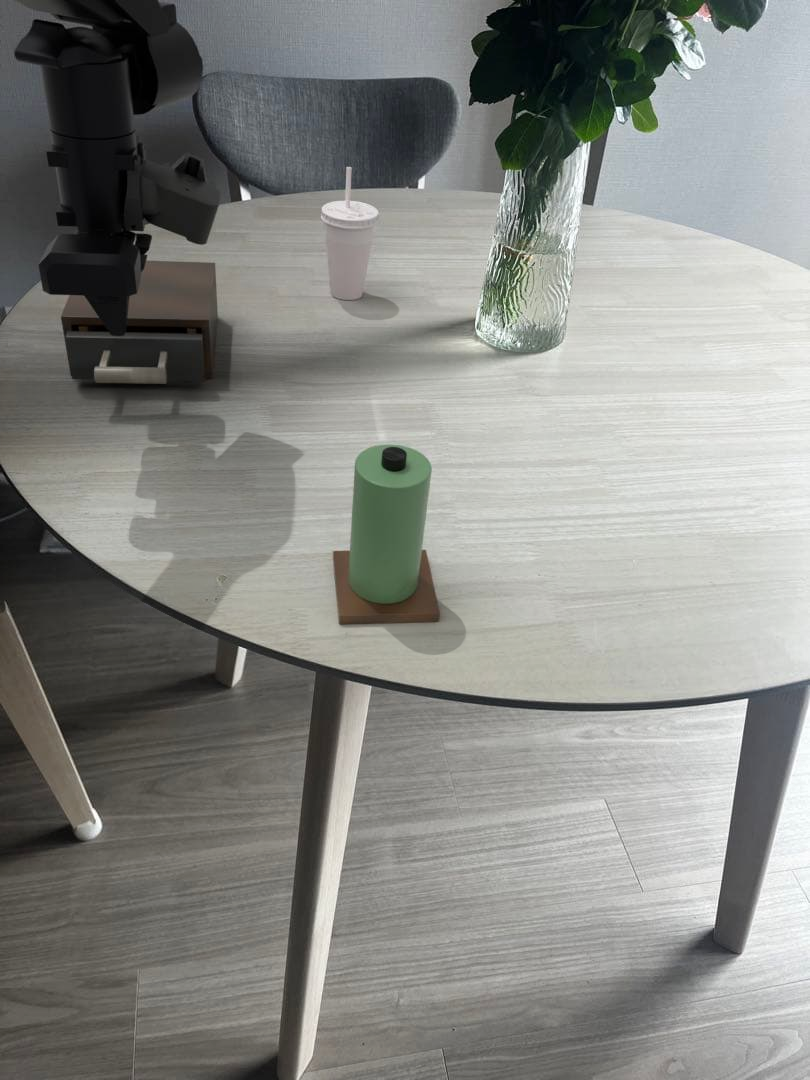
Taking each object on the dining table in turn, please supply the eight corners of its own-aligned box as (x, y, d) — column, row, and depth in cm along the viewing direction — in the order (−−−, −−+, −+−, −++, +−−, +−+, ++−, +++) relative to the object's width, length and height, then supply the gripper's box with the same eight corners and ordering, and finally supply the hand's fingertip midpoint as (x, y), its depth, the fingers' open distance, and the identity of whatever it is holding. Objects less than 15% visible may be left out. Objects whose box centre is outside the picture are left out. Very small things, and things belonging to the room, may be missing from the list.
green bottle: (422, 603, 63) (438, 475, 56) (350, 605, 62) (358, 475, 55) (412, 557, 67) (427, 432, 60) (345, 558, 66) (352, 432, 59)
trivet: (338, 624, 62) (339, 615, 61) (332, 558, 67) (333, 550, 66) (438, 621, 63) (440, 613, 62) (425, 557, 68) (426, 549, 67)
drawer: (201, 407, 80) (198, 364, 78) (63, 405, 79) (55, 361, 76) (210, 322, 94) (208, 283, 91) (92, 320, 92) (86, 279, 89)
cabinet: (212, 378, 86) (209, 319, 83) (70, 376, 84) (60, 316, 81) (217, 317, 97) (215, 262, 93) (91, 314, 95) (83, 258, 91)
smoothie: (352, 278, 108) (358, 157, 99) (385, 298, 104) (394, 174, 96) (308, 288, 105) (310, 164, 96) (340, 309, 101) (345, 181, 92)
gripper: (204, 175, 57) (215, 392, 66) (215, 102, 71) (223, 289, 81) (18, 166, 55) (58, 391, 65) (68, 93, 69) (95, 285, 79)
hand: (118, 333), depth 72 cm, fingers closed
